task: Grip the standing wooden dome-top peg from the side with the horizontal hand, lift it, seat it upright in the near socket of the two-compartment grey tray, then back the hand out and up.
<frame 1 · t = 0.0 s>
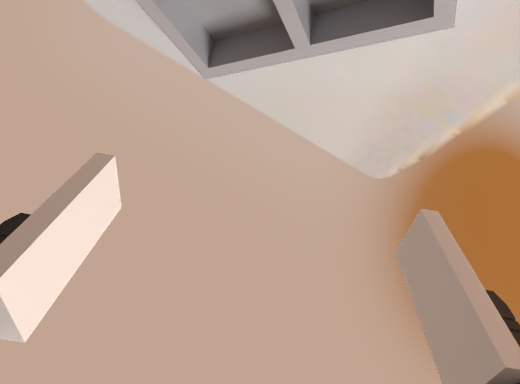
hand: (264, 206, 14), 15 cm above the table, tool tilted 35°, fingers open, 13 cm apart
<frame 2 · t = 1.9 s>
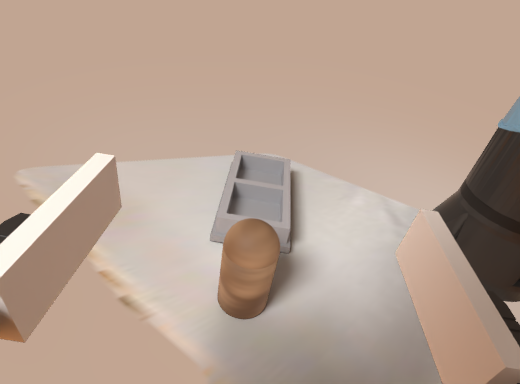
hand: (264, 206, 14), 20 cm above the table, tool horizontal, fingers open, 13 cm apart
two-compartment grey tray: (255, 203, 46), on the table
wooden dome-top peg: (242, 296, 33), on the table
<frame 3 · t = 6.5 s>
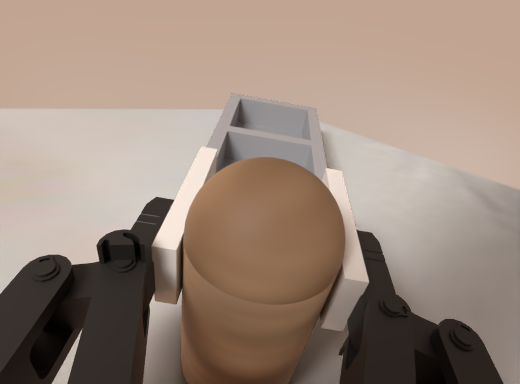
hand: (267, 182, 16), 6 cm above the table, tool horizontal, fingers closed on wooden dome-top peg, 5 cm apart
two-compartment grey tray: (263, 171, 28), on the table
wooden dome-top peg: (238, 351, 15), on the table, touching gripper
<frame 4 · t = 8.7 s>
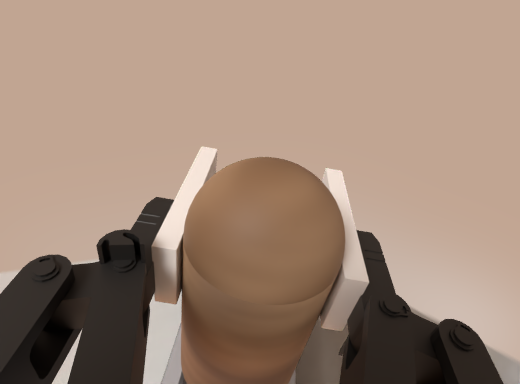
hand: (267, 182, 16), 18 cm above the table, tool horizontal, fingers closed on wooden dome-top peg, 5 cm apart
two-compartment grey tray: (231, 370, 25), on the table
wooden dome-top peg: (238, 351, 15), point 12 cm above the table, touching gripper
when the fingers open (8 cm above the table, at t = 10.8 s): wooden dome-top peg drops 1 cm, resting on two-compartment grey tray.
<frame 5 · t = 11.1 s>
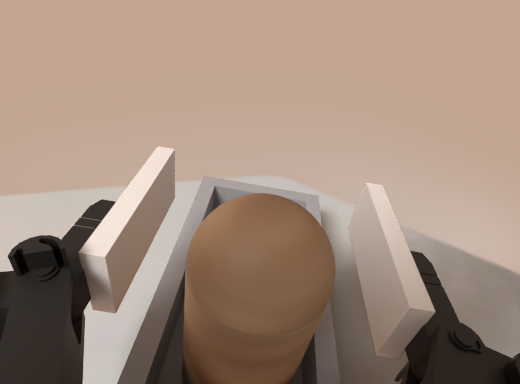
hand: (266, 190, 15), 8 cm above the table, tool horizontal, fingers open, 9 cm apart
two-compartment grey tray: (242, 308, 19), on the table
wooden dome-top peg: (236, 367, 16), point 1 cm above the table, touching two-compartment grey tray
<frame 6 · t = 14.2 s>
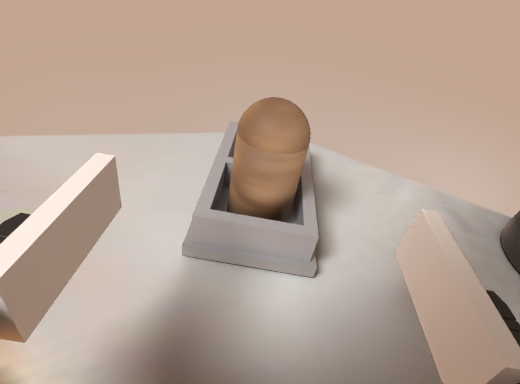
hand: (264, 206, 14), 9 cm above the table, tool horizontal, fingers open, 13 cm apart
two-compartment grey tray: (258, 196, 31), on the table
wooden dome-top peg: (257, 215, 27), point 1 cm above the table, touching two-compartment grey tray
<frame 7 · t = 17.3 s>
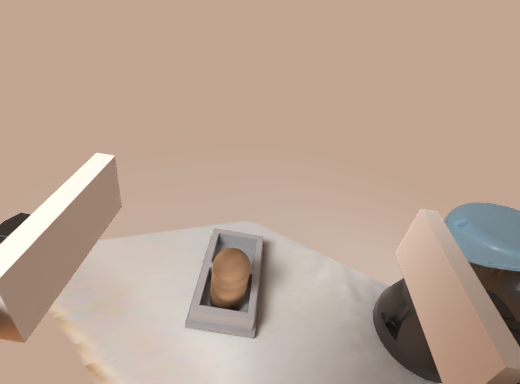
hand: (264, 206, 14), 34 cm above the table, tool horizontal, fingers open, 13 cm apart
two-compartment grey tray: (229, 282, 52), on the table
wooden dome-top peg: (226, 299, 48), point 1 cm above the table, touching two-compartment grey tray
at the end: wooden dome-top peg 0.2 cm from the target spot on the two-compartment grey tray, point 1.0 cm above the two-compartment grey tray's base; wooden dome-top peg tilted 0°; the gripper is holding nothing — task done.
